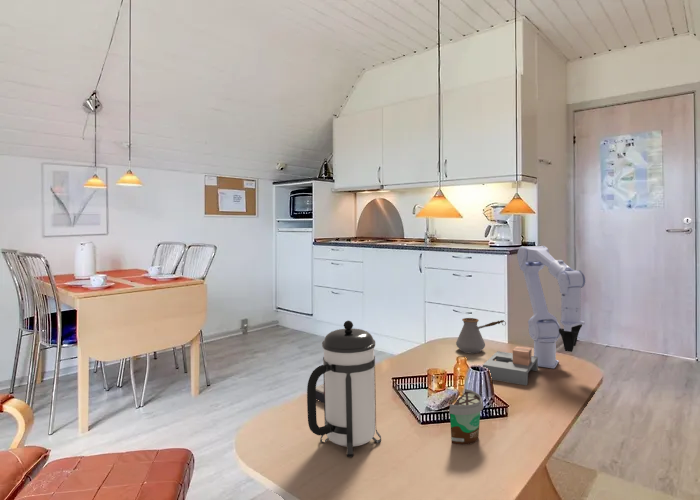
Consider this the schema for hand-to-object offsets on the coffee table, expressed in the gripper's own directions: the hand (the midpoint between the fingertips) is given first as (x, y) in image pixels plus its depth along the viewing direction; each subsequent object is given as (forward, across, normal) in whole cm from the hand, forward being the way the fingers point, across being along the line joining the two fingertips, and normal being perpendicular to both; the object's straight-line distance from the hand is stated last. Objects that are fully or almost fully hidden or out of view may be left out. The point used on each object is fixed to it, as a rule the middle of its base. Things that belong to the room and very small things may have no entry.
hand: (570, 348), depth 148 cm
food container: (+11, -56, +15) cm, 59 cm away
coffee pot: (+11, +14, +34) cm, 38 cm away
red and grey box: (+11, -50, +57) cm, 77 cm away
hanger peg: (+9, -4, +14) cm, 17 cm away
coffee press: (+11, -74, +39) cm, 84 cm away
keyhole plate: (+10, -4, +18) cm, 21 cm away
